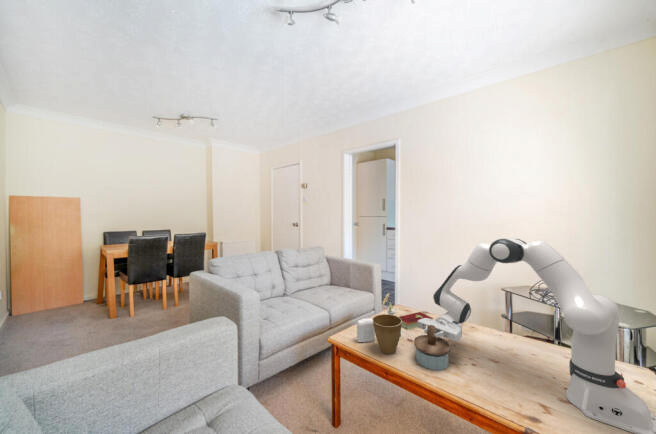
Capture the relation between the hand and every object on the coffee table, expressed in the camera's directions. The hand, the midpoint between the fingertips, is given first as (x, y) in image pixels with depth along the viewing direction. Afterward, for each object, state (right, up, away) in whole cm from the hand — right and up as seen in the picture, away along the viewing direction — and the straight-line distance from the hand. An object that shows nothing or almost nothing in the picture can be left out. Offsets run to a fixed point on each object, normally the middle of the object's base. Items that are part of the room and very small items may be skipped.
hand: (430, 333), depth 120 cm
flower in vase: (-12, -14, +28) cm, 33 cm away
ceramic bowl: (+1, -13, +1) cm, 14 cm away
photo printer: (-28, -14, +21) cm, 38 cm away
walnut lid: (+1, -6, +1) cm, 6 cm away
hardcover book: (+7, -13, +42) cm, 45 cm away
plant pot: (-18, -14, +11) cm, 25 cm away
